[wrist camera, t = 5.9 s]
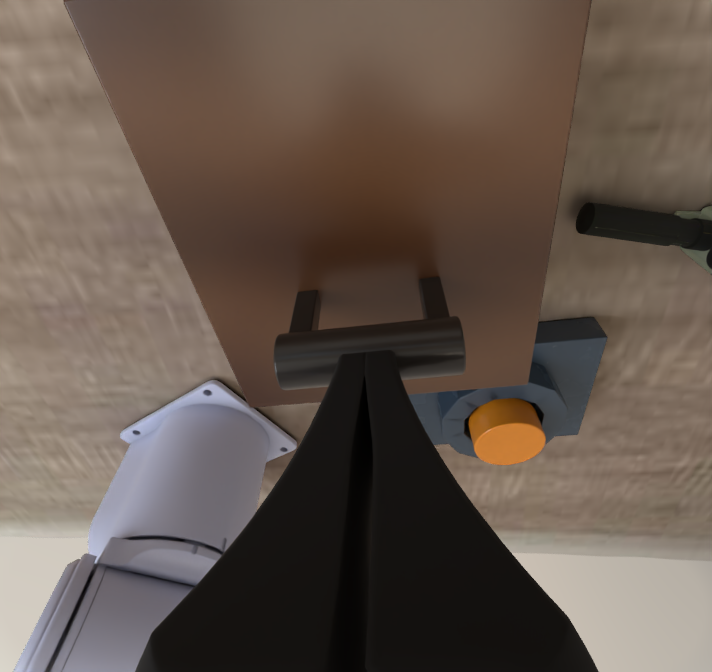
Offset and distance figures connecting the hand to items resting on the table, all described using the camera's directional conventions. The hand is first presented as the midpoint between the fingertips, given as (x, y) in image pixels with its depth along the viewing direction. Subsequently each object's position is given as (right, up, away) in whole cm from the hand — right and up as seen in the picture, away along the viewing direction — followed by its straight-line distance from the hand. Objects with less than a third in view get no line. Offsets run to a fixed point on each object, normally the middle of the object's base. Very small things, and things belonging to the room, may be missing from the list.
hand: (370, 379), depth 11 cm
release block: (+8, -1, +15) cm, 17 cm away
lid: (0, +4, +3) cm, 5 cm away
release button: (+8, -3, +12) cm, 15 cm away
